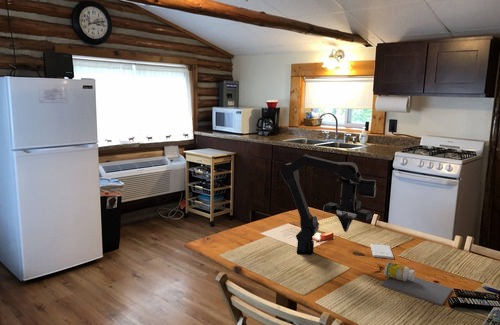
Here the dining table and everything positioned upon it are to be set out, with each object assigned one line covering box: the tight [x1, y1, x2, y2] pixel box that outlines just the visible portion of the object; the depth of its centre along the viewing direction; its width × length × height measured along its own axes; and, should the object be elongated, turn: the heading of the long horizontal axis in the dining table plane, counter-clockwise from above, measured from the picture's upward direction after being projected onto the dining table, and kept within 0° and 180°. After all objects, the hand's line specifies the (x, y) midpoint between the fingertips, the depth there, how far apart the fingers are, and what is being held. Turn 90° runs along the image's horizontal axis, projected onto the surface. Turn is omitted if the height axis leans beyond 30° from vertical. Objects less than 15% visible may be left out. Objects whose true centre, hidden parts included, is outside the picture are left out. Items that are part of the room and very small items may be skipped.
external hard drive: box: [370, 243, 395, 260], centre depth 167 cm, size 2×8×12 cm
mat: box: [380, 276, 453, 307], centre depth 137 cm, size 20×14×1 cm
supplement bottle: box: [384, 261, 416, 282], centre depth 141 cm, size 5×5×10 cm
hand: (345, 231), depth 157 cm, fingers closed
